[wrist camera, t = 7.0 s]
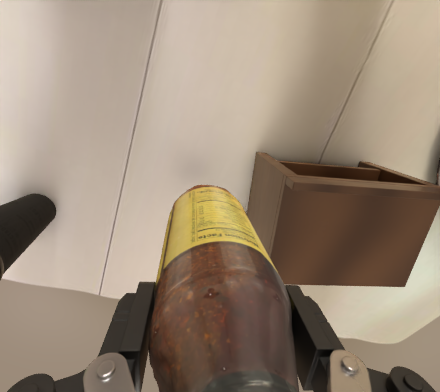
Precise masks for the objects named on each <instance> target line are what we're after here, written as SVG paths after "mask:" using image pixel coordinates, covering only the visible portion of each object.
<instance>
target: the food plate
mask: <svg viewBox="0 0 440 392" xmlns="http://www.w3.org/2000/svg"><path fill="white" fill-rule="evenodd" d="M439 159H440V158H439ZM436 185H438V186H440V160H439V165H438V172H437V182H436Z"/></svg>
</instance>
